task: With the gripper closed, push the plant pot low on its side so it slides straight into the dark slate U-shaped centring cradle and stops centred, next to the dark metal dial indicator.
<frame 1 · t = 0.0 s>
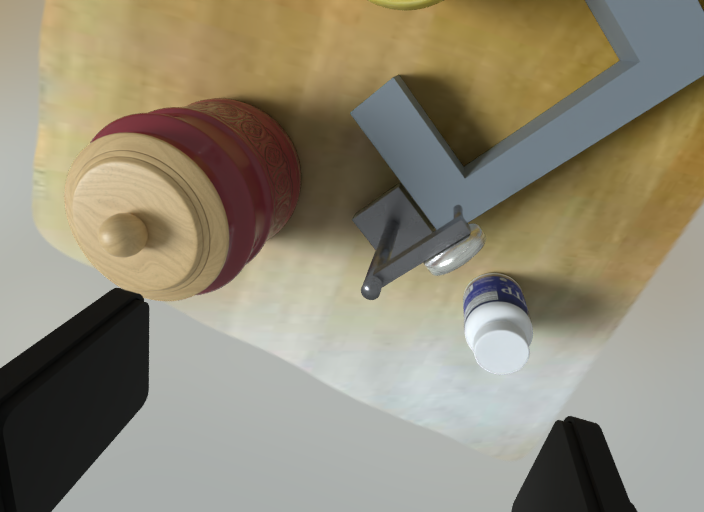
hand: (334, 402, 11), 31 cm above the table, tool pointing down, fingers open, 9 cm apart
centring cradle: (497, 56, 35), on the table
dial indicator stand: (394, 221, 42), on the table
pill bottle: (492, 296, 43), on the table
canister: (237, 171, 43), on the table
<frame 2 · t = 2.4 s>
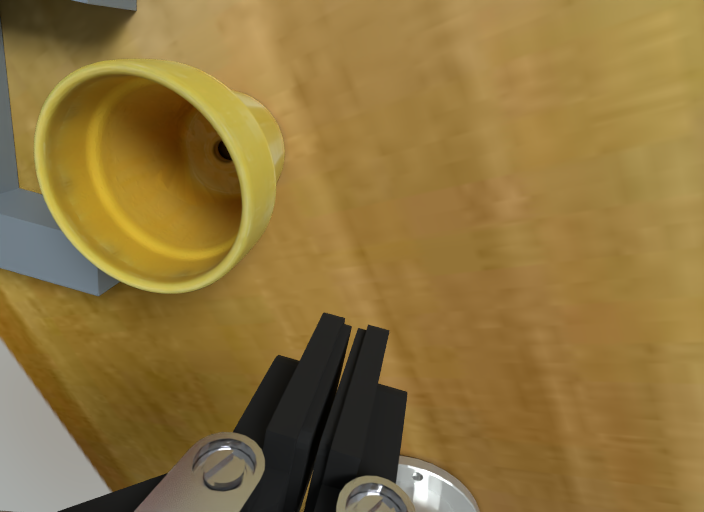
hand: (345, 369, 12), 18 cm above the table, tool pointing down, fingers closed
centring cradle: (85, 112, 30), on the table
plant pot: (234, 148, 29), on the table
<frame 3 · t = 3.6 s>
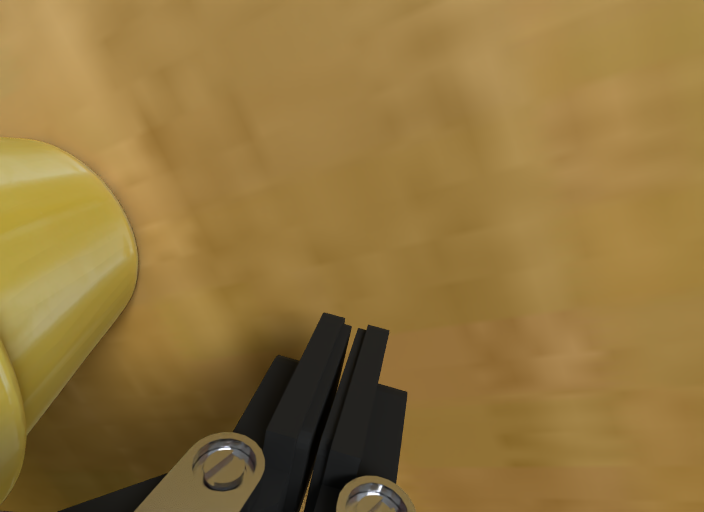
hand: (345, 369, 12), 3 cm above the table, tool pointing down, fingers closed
plant pot: (55, 238, 16), on the table
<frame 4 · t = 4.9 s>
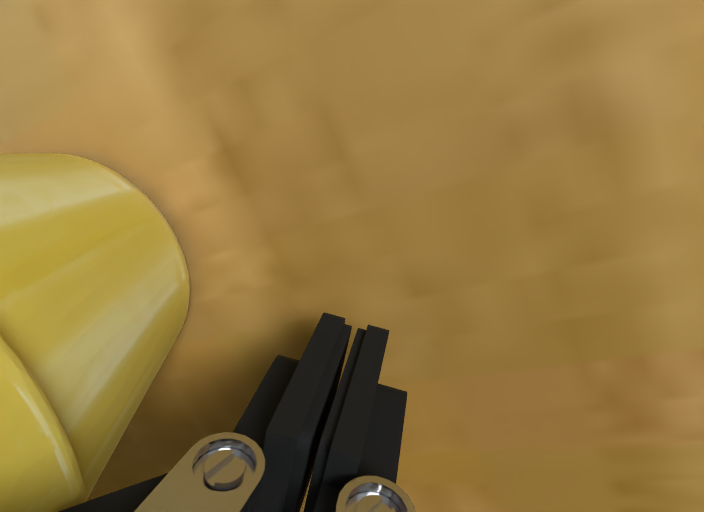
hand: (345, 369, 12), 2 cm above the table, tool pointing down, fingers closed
plant pot: (94, 263, 14), on the table, touching gripper
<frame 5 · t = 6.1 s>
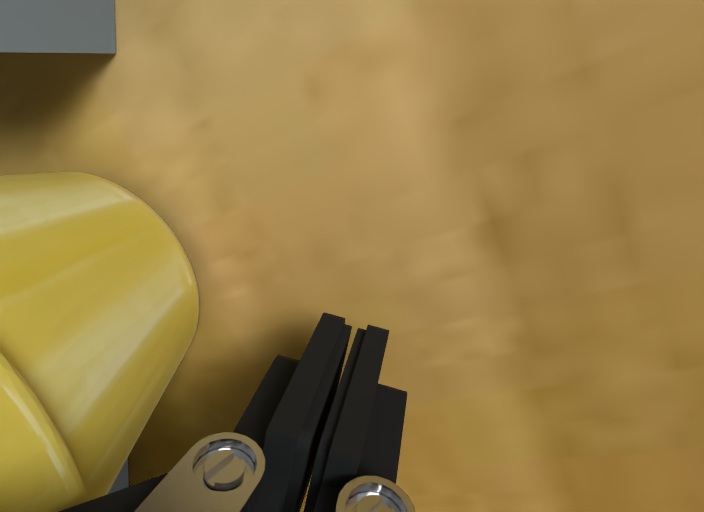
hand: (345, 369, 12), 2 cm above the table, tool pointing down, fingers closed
centring cradle: (21, 252, 15), on the table
plant pot: (108, 277, 15), on the table, touching gripper
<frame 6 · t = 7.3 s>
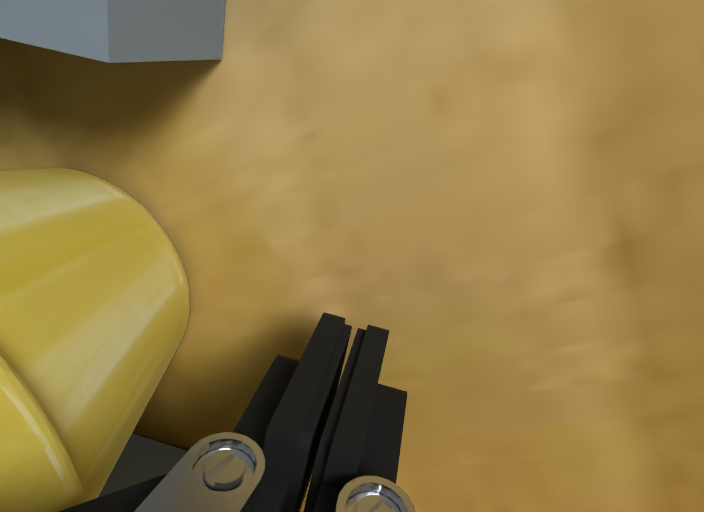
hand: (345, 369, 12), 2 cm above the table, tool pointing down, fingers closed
centring cradle: (97, 265, 14), on the table
plant pot: (96, 274, 14), on the table, touching gripper
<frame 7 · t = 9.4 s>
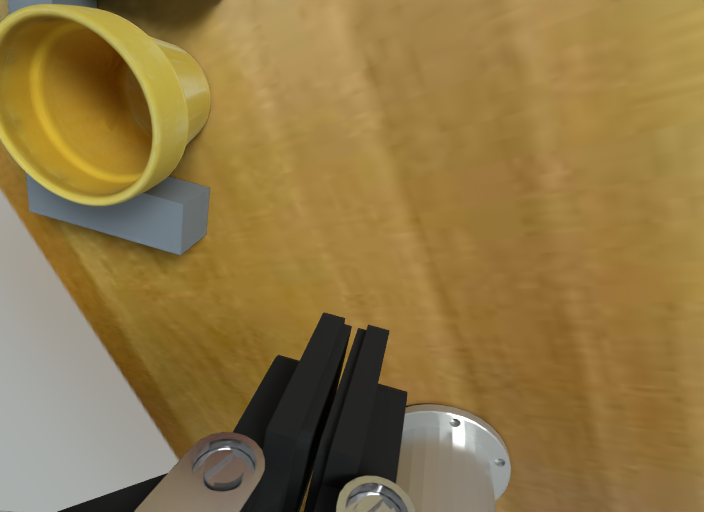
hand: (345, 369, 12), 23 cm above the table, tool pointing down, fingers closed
centring cradle: (170, 88, 33), on the table
plant pot: (169, 94, 33), on the table
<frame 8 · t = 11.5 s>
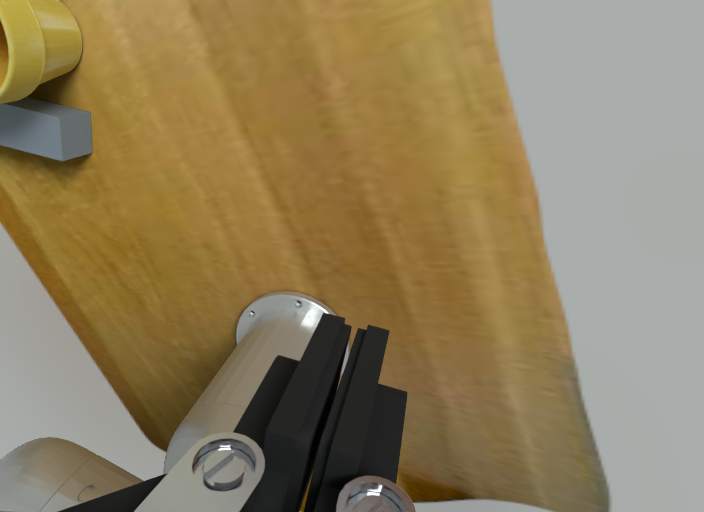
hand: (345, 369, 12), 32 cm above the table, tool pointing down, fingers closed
centring cradle: (52, 31, 43), on the table
plant pot: (52, 36, 43), on the table
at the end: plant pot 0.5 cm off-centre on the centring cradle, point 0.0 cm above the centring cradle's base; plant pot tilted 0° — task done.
